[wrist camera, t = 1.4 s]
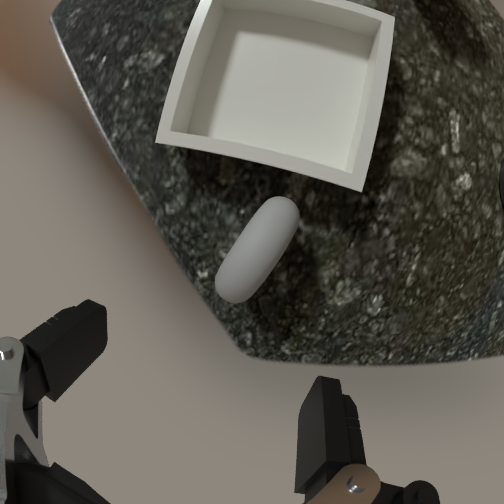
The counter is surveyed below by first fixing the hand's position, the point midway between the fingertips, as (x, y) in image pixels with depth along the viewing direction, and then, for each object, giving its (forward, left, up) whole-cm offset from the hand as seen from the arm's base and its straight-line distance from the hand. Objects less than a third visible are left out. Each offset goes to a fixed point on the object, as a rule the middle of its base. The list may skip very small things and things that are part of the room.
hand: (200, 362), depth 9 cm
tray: (+2, -16, -20) cm, 26 cm away
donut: (0, 0, -20) cm, 20 cm away
